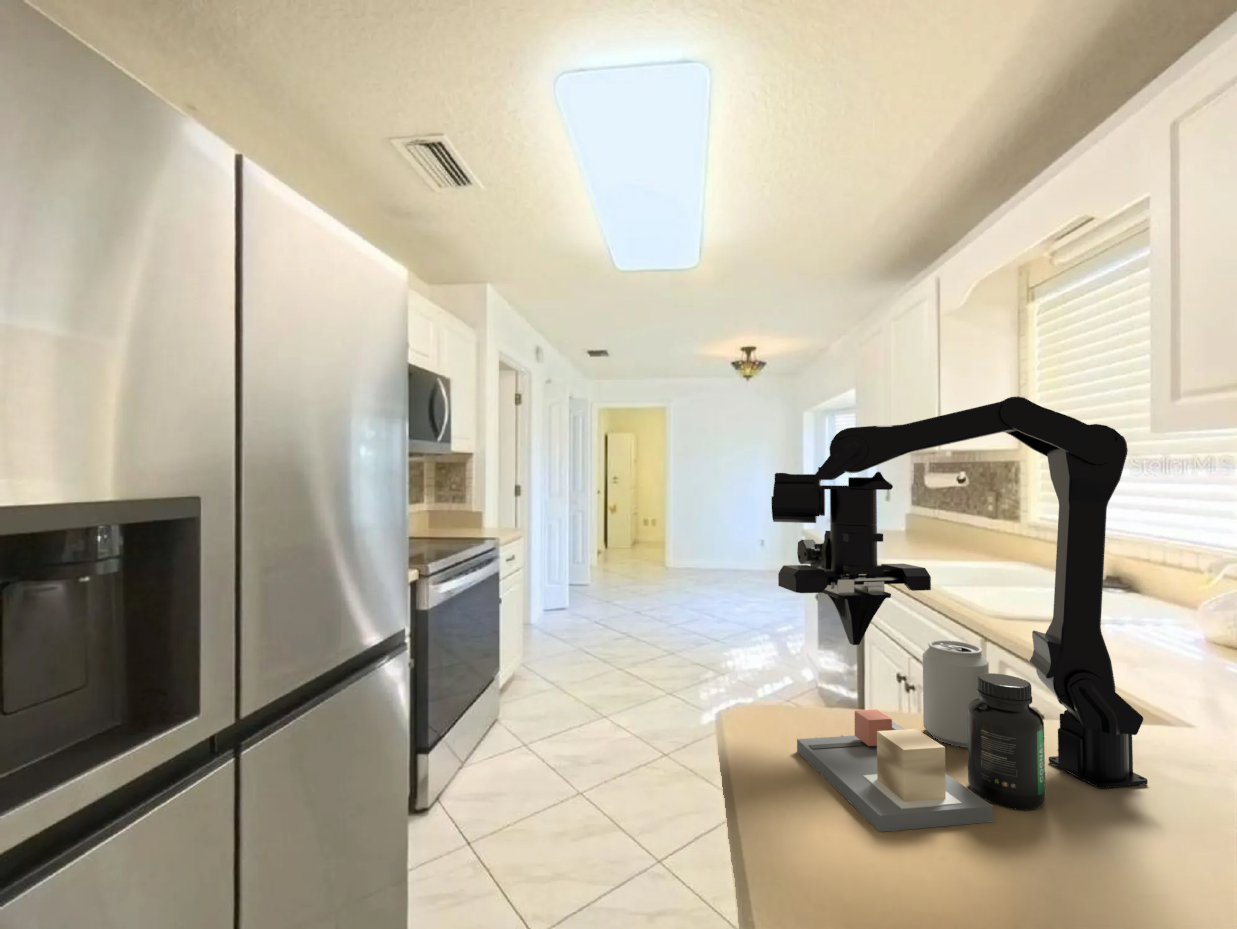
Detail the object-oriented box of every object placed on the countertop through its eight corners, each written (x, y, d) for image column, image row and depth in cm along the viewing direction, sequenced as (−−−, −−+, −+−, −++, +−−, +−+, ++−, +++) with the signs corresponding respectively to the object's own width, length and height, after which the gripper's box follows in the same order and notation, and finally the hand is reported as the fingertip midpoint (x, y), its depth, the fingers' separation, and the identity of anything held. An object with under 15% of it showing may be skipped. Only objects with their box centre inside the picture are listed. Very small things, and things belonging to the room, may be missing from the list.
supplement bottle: (1062, 810, 59) (1060, 689, 60) (1000, 814, 59) (999, 691, 59) (1009, 777, 66) (1008, 669, 67) (953, 780, 65) (952, 670, 66)
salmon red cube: (877, 734, 73) (876, 709, 73) (892, 744, 70) (891, 718, 70) (854, 735, 72) (854, 710, 72) (868, 746, 69) (868, 720, 69)
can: (1000, 753, 72) (998, 654, 73) (933, 747, 74) (932, 650, 74) (976, 728, 80) (974, 639, 80) (916, 723, 81) (915, 635, 82)
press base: (886, 745, 74) (886, 717, 74) (993, 821, 57) (992, 784, 57) (797, 751, 72) (797, 722, 72) (880, 831, 55) (879, 793, 55)
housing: (877, 779, 62) (876, 730, 62) (916, 776, 63) (915, 728, 63) (904, 801, 58) (903, 749, 58) (945, 798, 58) (945, 747, 59)
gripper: (881, 520, 87) (882, 627, 86) (761, 521, 84) (761, 631, 83) (933, 525, 76) (934, 648, 75) (797, 526, 73) (798, 653, 72)
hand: (854, 644), depth 77 cm, fingers closed
